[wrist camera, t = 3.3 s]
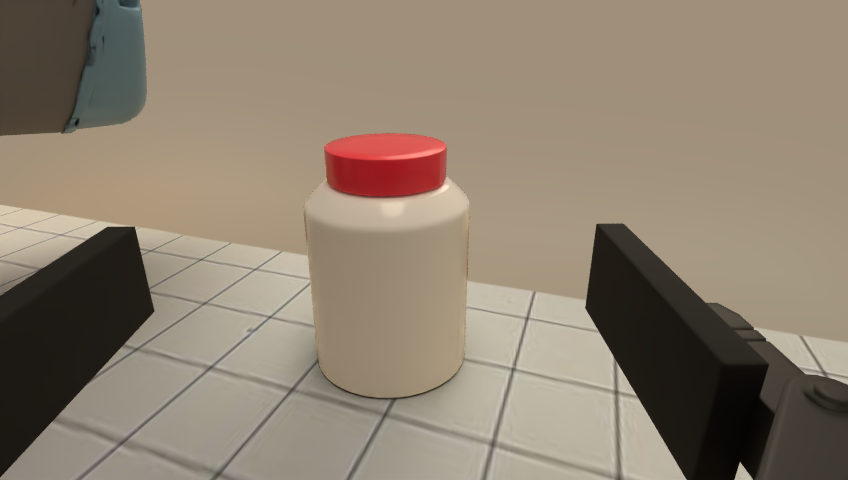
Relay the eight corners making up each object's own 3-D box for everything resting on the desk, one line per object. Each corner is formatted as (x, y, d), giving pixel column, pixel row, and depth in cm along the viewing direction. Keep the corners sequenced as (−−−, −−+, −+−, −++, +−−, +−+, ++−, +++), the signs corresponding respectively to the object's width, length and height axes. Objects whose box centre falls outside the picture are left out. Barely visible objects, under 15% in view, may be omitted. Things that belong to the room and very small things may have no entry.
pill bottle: (372, 301, 32) (364, 124, 28) (487, 334, 29) (498, 137, 25) (286, 368, 26) (258, 152, 22) (419, 420, 23) (418, 176, 18)
